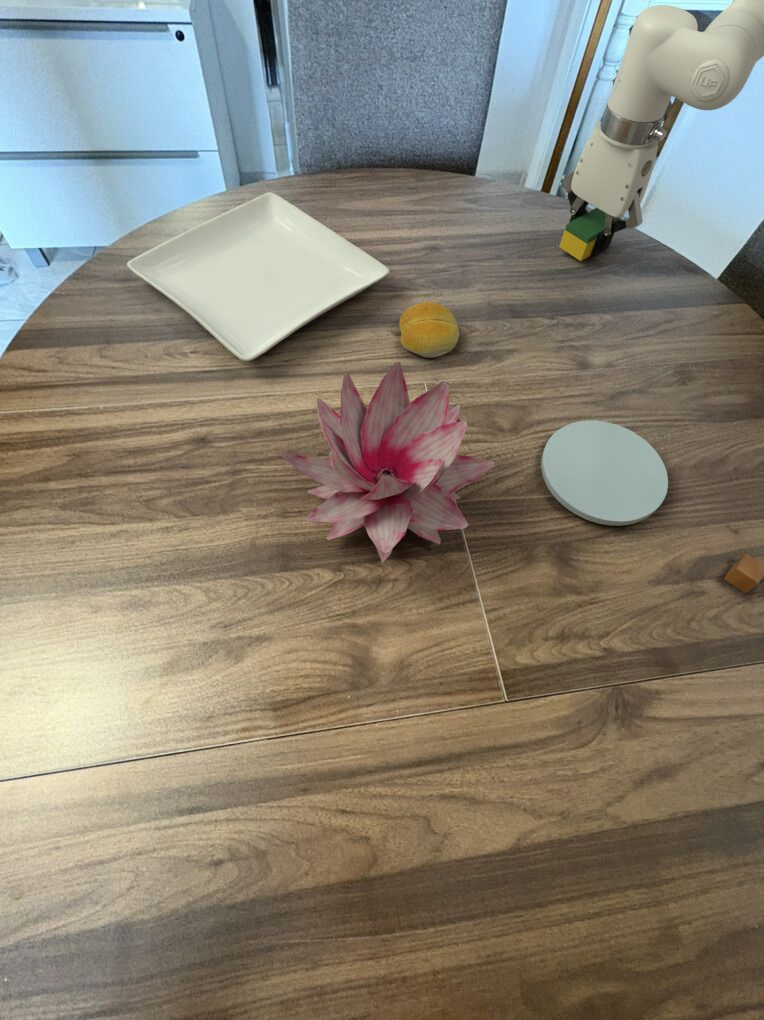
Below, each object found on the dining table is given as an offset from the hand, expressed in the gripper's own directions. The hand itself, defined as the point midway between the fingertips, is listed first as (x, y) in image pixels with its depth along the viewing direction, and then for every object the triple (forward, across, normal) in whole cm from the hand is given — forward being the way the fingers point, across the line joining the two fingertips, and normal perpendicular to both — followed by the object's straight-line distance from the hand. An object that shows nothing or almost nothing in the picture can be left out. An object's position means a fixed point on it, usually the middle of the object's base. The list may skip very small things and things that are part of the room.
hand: (585, 243), depth 98 cm
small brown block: (0, -48, +33) cm, 58 cm away
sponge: (0, 0, 0) cm, 0 cm away
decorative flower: (+2, -16, +57) cm, 59 cm away
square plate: (+2, +24, +46) cm, 52 cm away
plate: (+1, -30, +34) cm, 45 cm away
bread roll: (+2, +1, +34) cm, 34 cm away
